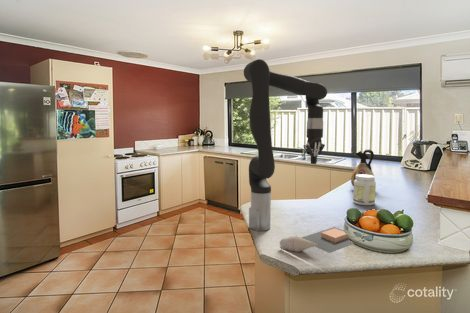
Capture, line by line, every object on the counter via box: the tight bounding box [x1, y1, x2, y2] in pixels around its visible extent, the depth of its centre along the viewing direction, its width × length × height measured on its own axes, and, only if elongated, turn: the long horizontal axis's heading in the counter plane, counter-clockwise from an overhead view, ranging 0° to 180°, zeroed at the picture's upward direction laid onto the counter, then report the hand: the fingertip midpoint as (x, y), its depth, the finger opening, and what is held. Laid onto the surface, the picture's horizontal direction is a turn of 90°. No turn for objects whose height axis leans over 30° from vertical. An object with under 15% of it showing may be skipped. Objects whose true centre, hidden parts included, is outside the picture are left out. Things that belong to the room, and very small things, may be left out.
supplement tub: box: [352, 174, 377, 206], centre depth 177 cm, size 12×12×17 cm
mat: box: [300, 226, 355, 254], centre depth 123 cm, size 24×16×1 cm, turn 124°
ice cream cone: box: [279, 235, 318, 253], centre depth 111 cm, size 6×6×15 cm
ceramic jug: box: [350, 149, 376, 187], centre depth 206 cm, size 17×15×30 cm
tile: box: [321, 227, 348, 243], centre depth 123 cm, size 2×7×9 cm
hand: (313, 163), depth 141 cm, fingers closed
